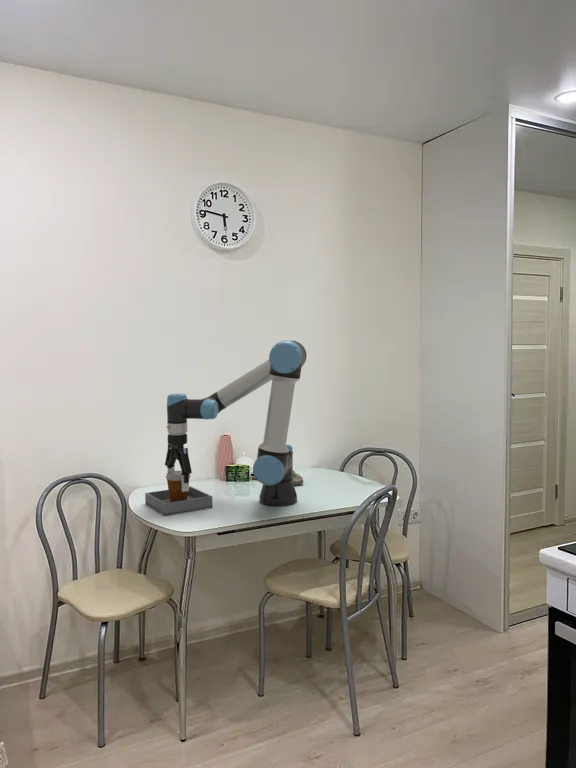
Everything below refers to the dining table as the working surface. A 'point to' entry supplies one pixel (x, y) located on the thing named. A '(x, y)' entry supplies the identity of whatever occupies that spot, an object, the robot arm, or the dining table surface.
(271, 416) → the robot arm
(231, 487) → the dining table surface
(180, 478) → the disposable coffee cup
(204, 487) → the dining table surface
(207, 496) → the crate
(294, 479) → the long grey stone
